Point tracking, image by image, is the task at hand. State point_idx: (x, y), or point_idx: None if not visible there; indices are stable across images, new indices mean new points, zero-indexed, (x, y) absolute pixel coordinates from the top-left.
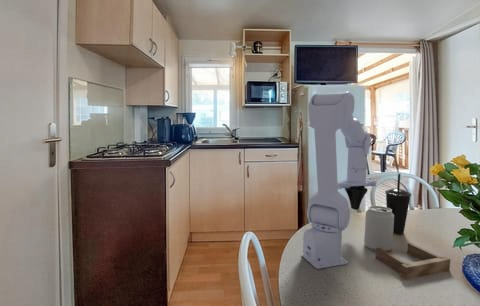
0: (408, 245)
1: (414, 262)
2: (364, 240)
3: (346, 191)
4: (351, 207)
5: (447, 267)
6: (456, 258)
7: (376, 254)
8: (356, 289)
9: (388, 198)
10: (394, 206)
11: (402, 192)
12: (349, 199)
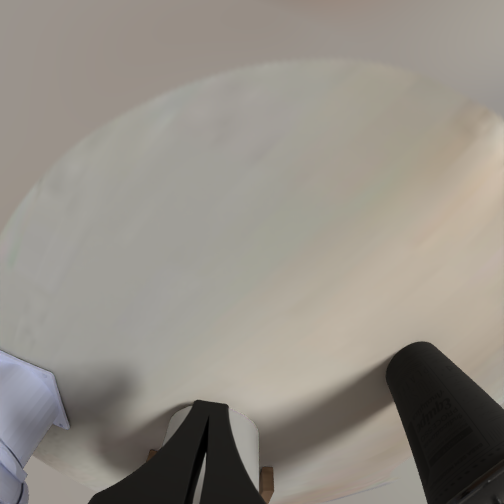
0: (262, 487)
1: None
2: (174, 419)
3: (114, 490)
4: (192, 406)
5: None
6: (341, 492)
7: (147, 460)
8: (54, 457)
9: (443, 481)
10: (419, 473)
11: None
12: (166, 443)
